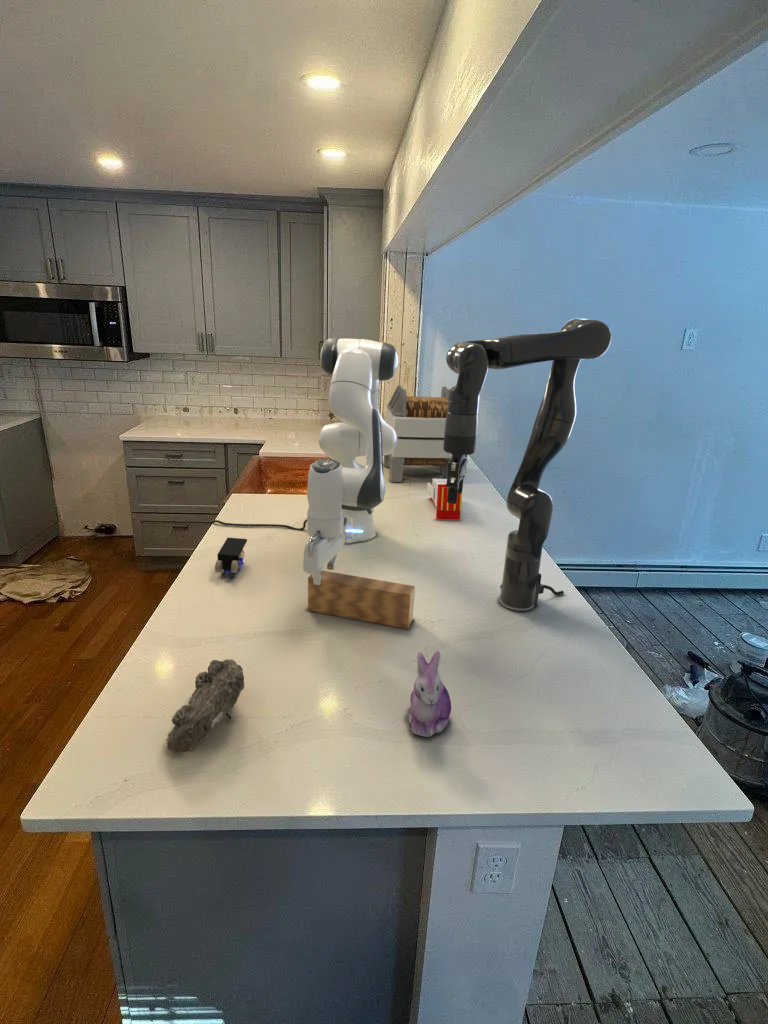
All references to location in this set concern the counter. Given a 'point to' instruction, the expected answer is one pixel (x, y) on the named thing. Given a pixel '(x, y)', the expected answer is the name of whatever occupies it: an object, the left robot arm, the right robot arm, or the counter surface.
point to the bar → (362, 599)
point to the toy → (444, 500)
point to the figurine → (429, 699)
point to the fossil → (206, 705)
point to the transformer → (417, 432)
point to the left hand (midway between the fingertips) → (324, 576)
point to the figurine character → (230, 556)
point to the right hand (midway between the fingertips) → (454, 497)
